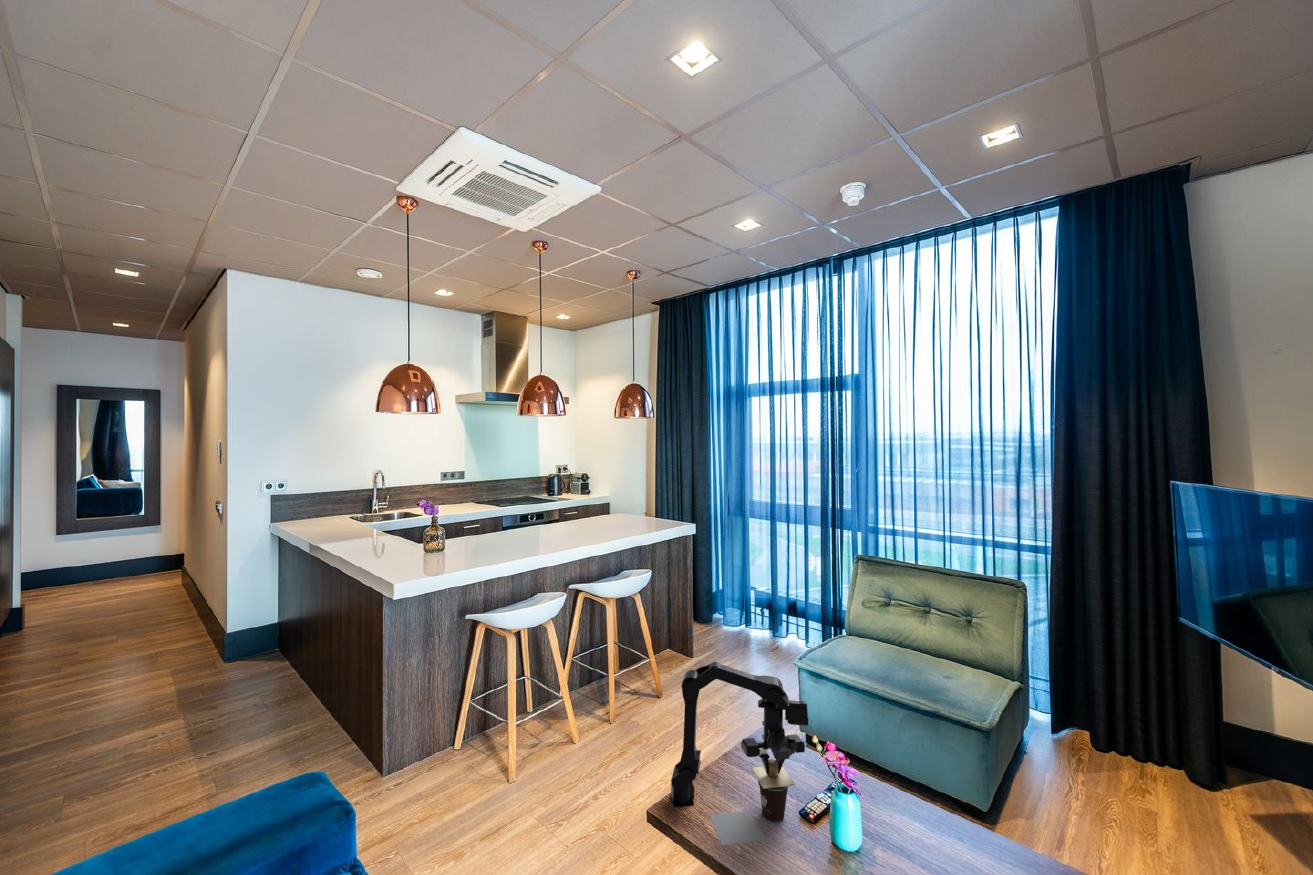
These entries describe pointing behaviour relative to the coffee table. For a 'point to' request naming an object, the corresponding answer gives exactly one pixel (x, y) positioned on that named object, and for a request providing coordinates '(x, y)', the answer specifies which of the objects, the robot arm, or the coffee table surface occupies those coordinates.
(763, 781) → the lid
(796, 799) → the coffee table surface
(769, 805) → the coffee mug
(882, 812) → the coffee table surface
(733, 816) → the mat
